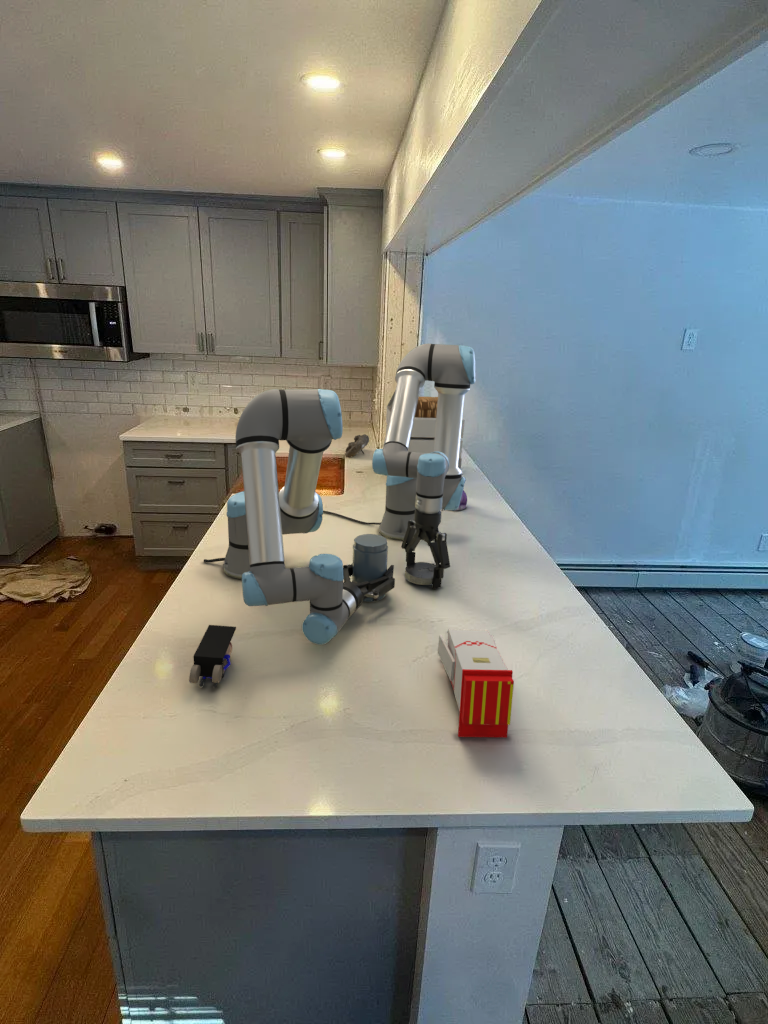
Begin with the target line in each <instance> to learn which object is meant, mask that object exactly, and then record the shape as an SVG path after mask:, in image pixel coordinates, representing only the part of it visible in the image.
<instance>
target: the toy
mask: <svg viewBox="0 0 768 1024" xmlns="http://www.w3.org/2000/svg"><path fill="white" fill-rule="evenodd" d="M446 640H447V643H446V641H445V639H444V636H443V635H442V634H439V637H438V646H437V656H438V657H439V659H440V661H441V663H442V666H443V668H444V670H445V672H446V674H447V677H448V679H449V681H450V684H451V687H452V690H453V693H454V697H455V701H456V705H457V708H458V711H459V714H458V715H459V716H458V730H457V731H458V732H457V737H458V738H508V731H509V726H510V725H511V717H512V707H513V697H514V696H513V695H514V684H515V680H514V679H513V673H514V671H513V670H512V669H508V667H507V665H506V662H505V661H504V659H503V658H502V655H501V653H500V651H499V649H498V647H497V643H496V639H495V637H494V635H493V634H491V632H490V631H489V629H467V628H466V629H465V628H463V629H461V628H460V629H459V628H448V630H447V639H446Z"/></svg>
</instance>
